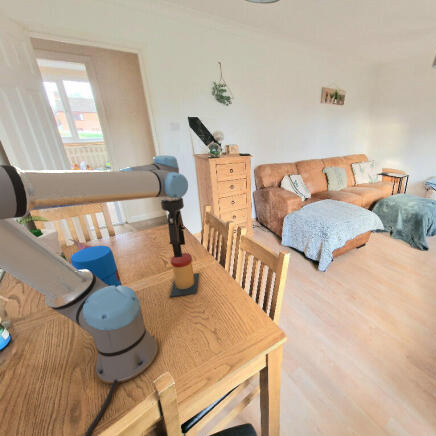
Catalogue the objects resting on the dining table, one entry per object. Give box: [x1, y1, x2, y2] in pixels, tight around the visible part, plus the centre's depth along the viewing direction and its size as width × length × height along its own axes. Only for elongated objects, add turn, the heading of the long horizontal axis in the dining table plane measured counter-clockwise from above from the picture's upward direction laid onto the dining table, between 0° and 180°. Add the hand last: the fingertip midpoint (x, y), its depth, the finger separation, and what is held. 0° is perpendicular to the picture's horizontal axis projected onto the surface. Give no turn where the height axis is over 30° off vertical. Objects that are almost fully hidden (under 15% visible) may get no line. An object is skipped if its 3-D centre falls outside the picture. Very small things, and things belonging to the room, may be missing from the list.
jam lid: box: [170, 252, 193, 267], centre depth 99 cm, size 8×8×2 cm
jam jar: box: [171, 261, 195, 289], centre depth 102 cm, size 8×8×13 cm
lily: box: [68, 238, 93, 251], centre depth 121 cm, size 12×12×10 cm
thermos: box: [70, 245, 123, 287], centre depth 84 cm, size 11×11×25 cm
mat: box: [169, 272, 200, 298], centre depth 104 cm, size 14×10×1 cm
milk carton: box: [28, 228, 69, 262], centre depth 108 cm, size 9×9×20 cm
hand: (180, 250), depth 98 cm, fingers open, 9 cm apart
